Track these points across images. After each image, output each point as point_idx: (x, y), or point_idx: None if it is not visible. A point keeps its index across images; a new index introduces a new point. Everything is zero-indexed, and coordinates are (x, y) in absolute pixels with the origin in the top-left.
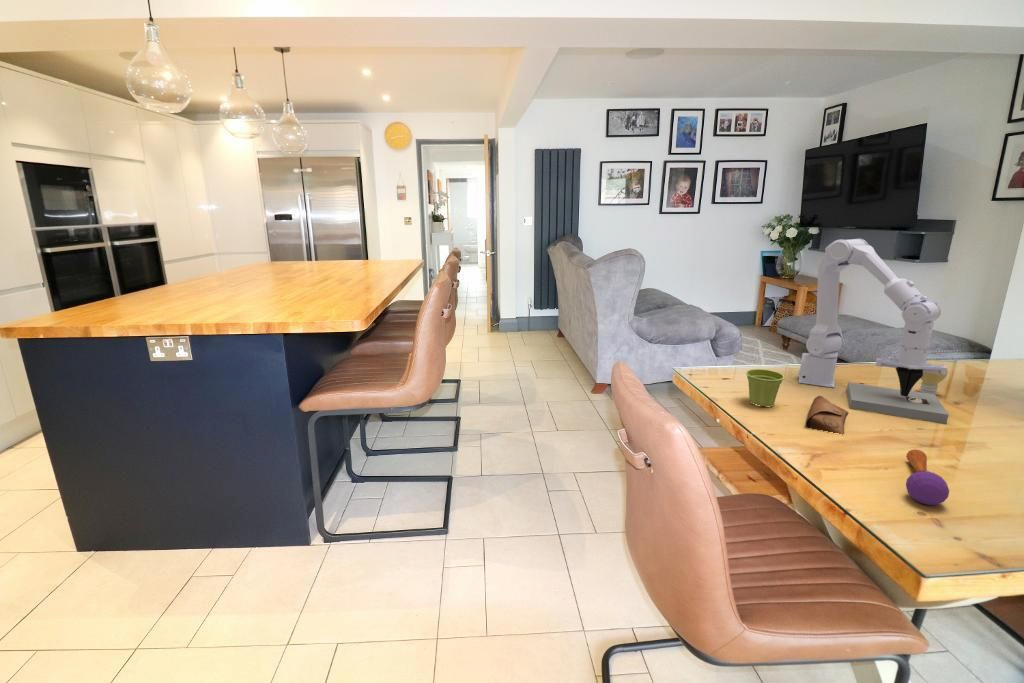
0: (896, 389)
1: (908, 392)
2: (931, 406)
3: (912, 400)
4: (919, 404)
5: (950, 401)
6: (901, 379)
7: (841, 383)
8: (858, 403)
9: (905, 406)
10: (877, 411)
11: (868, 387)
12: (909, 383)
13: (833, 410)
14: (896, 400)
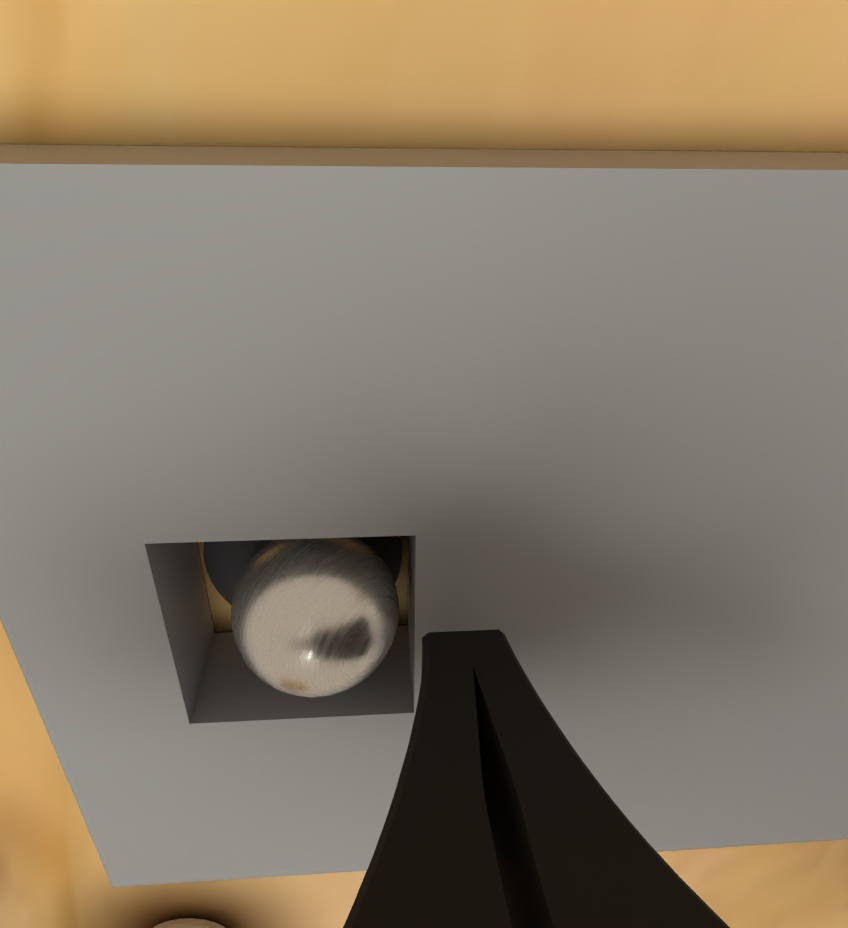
0: None
1: (433, 679)
2: (119, 489)
3: (355, 595)
4: (276, 492)
5: (19, 876)
6: (677, 901)
7: (804, 867)
8: None
9: (498, 272)
10: (832, 153)
11: (744, 793)
12: (478, 839)
13: None
14: (563, 509)
